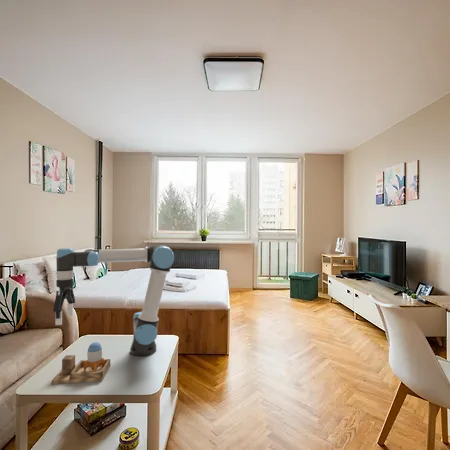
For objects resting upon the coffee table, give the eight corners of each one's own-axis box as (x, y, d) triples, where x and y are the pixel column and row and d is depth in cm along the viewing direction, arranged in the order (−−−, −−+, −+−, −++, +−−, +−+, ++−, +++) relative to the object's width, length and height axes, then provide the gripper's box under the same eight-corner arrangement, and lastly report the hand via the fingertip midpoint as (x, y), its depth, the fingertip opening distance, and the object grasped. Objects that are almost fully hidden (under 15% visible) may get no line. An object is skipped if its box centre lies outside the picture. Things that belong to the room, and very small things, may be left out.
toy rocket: (99, 377, 143) (92, 349, 141) (79, 379, 144) (72, 352, 142) (109, 364, 153) (103, 338, 151) (91, 366, 154) (84, 340, 152)
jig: (110, 366, 156) (110, 358, 156) (102, 380, 141) (102, 372, 141) (65, 368, 153) (65, 360, 153) (51, 383, 138) (51, 375, 138)
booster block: (75, 372, 149) (75, 355, 149) (71, 377, 144) (71, 359, 144) (65, 373, 148) (65, 355, 148) (61, 377, 144) (62, 359, 144)
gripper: (67, 274, 161) (67, 313, 161) (44, 283, 136) (44, 329, 136) (81, 274, 161) (81, 312, 162) (62, 283, 137) (61, 328, 137)
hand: (64, 320), depth 149 cm, fingers open, 13 cm apart
